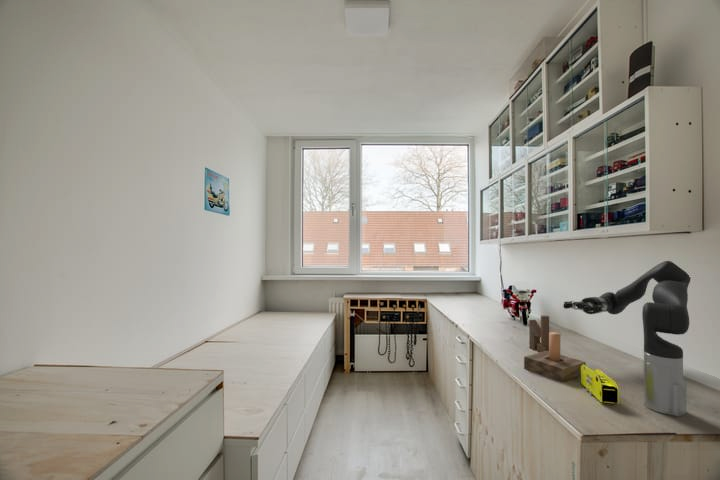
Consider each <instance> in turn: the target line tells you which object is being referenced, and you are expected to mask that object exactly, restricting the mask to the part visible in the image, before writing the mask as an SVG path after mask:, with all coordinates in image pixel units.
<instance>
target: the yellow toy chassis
mask: <svg viewBox="0 0 720 480" xmlns="http://www.w3.org/2000/svg"><path fill="white" fill-rule="evenodd" d="M580 383H581V385H583V387H585V390H586V392H589V395H591V396H592V395H593V396H594V397H595V398H596V399H597V400H598V401H599V402H600V403H604V404H607V405H608V404H609V405H615V404H617V405H619V404H620V398H619V397H620V395H619V393H620V391H619V387H618V385H617V382H616V381H614V379H612V378H611V377H609V376H608V375H607V374H605V373H604V372H603V371H602V370H600V369H596V370H594V369H590V368H589V367H587V365H586V366H585V365H584V364H583V365H582V366H581V376H580Z"/></svg>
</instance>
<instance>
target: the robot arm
mask: <svg viewBox="0 0 720 480" xmlns="http://www.w3.org/2000/svg"><path fill="white" fill-rule="evenodd" d="M688 274H689V273H688ZM688 274H687V272H686V271H685V270H684V269H683V268H681V267H679V266H678V265H677V264H676V263H674V262H673V261H671V260H665V261H662V262H660V263H659V264H657V265H655V266H653V267H652V268H650V269H649V270H648V271H646V272H645V273H644V274H642V275H641V276H639V277H638V278H636V280H634V281H633V282H631V283H630V284H628V285H626V286H625V287H622V288H621V289H619V290H617V291H615V293H614V292H612V291H611V292H610V291H607V292H604V293H603V294H601V295H600V296H589V297H584V298H583V299H581V300H580V301H574V300H570V301H564V302H563V306H562V307H563V309H566V310H567V309H572V310H574V311H575V310H579V311H582V312H583V313H585V314H586V315H595V314H601V313H604V312H607V313H608V314H610V315H618V314H621V313H622V312H623V311H624V310H625V309H626V308H627V307H628V306H629V305H630V304H632V303H634V302H636V301H639V300H640V299H642V298H643V297H644V296H645V294H646V292H647V288H648V284H649V282H650V281H651V280H654V281H655V282H656V285H655V286H654V288H653V289H652V295H651V296H652V297H651V298H652V301H653V302H645V303H644V304H643V306H642V314H641V316H642V317H641V318H642V327H643V328H642V329H643V391H644V393H643V399H644V401H643V402H644V405H645V406H646V407H647V408H648V409H650V410H652V411H655V412H658V413H661V414H665V415H668V416H673V417H677V418H680V417H681V416H683V415H685V414H686V413H687V382H686V381H685V380H684V350H683V348H682V347H681V346H679V345H677V344H675V343H672V342H670V341H668V340H667V339H664V338H663V337H661V336H659V335H658V333H661V334H663V333H664V334H670V335H679V336H680V335H685V334H686V333H687V332H688V331H689V328H690V316H689V311H688V301H689V300H688V299H689V298H688V297H689V295H688V288H689V286H690V284H691V283H690V282H691V276H690V275H688ZM689 276H690V277H689Z"/></svg>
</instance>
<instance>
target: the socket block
mask: <svg viewBox="0 0 720 480" xmlns="http://www.w3.org/2000/svg"><path fill="white" fill-rule="evenodd" d="M523 362H524V363H523V369H524V370H528V371H531V372H534V373H536V374H539V375H541V376H544V377H547V378H549V379H550V378H551V379H553V380H556V381H559V382H561V383H565V382H567V381H571V380H574V379H576V378H581V366H582V365H583V364H584V365H585V366H586V367H587V363H586V361H584V360H580V359H577V358H573V357H569V356H566V355H563V354H560V362H554V361H551V360H549V351H544V352H537V353H533V354H528V355H525V356H524V357H523Z"/></svg>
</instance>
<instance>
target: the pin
mask: <svg viewBox="0 0 720 480" xmlns="http://www.w3.org/2000/svg"><path fill="white" fill-rule="evenodd" d="M560 355H561V333H559V332H553V331H551V332H550V331H549V360H551V361H554V362H560Z"/></svg>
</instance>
